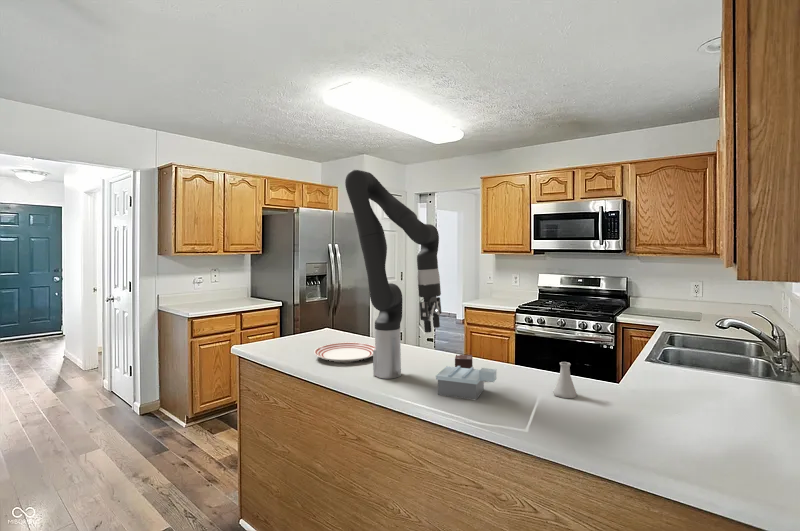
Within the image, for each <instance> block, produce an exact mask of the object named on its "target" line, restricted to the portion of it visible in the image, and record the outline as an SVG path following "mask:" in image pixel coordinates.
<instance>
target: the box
mask: <svg viewBox="0 0 800 531" xmlns="http://www.w3.org/2000/svg"><path fill="white" fill-rule="evenodd" d="M457 366H460V368H469V369H470V368H471V367H473V355H472V354H455V357H454V367H457Z"/></svg>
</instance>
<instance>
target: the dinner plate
mask: <svg viewBox="0 0 800 531" xmlns="http://www.w3.org/2000/svg"><path fill="white" fill-rule="evenodd" d="M374 349H375V345H373V344H369V343H364V342H356V341H354V342H350V341H349V342H348V341H347V342H345V341H344V342H334V343H328V344H324V345H321V346H318V347H317V348H315V349H314V350H313V354H314V355H315V356H317V357H318V358H319V359H323V360H326V361H328V360H329V362H331V361H334V362H333V363H340V362H346V363H354V362H353V361H356V362H360V361H359V360H361V361H364V360H367V359H369V358H372V357H373V350H374ZM363 359H364V360H363Z"/></svg>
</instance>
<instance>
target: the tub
mask: <svg viewBox="0 0 800 531" xmlns="http://www.w3.org/2000/svg"><path fill="white" fill-rule="evenodd" d="M484 386H485V381H479V383H478V384H469V383H461V382H453V381H445V380H437V395H438V396H443V397H444V396H445V397H450V398H459V399H467V400H474V401H477V399H478V398H479V397H480V395H481V394H482V393H483V391H484V390H485V389H484V388H485V387H484Z"/></svg>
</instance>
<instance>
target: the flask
mask: <svg viewBox="0 0 800 531" xmlns="http://www.w3.org/2000/svg"><path fill="white" fill-rule="evenodd" d="M571 365H572V364H571V363H570V362H567V361H561V362H559V366H560V371H559V376H558V378H557V381H556V384H555V386H554V388H553V391H552V394H553V396H554V397H558V398H562V399H575V398H576V397H578V393H577V391H576V389H575V386H574V382H573V379H572V376H571V369H570V367H571Z"/></svg>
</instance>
